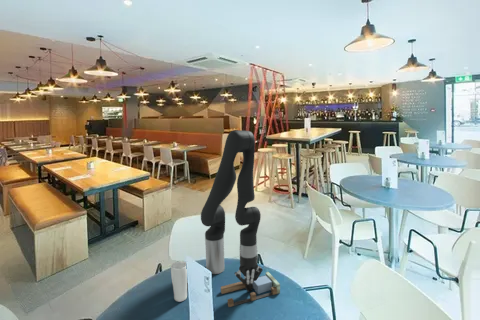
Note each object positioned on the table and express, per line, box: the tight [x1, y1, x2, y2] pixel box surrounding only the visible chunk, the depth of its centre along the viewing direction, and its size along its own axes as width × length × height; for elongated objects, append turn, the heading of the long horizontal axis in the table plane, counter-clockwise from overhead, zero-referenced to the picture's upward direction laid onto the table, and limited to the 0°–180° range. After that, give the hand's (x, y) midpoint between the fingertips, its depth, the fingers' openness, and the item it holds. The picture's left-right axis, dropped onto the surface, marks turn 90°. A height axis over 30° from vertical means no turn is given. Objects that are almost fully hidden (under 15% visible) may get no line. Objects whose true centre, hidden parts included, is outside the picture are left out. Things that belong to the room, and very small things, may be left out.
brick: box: [252, 275, 272, 295], centre depth 118 cm, size 6×7×4 cm
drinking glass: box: [170, 260, 188, 303], centre depth 112 cm, size 7×7×15 cm
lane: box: [220, 271, 281, 308], centre depth 115 cm, size 11×24×4 cm, turn 112°
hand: (249, 290), depth 115 cm, fingers closed
